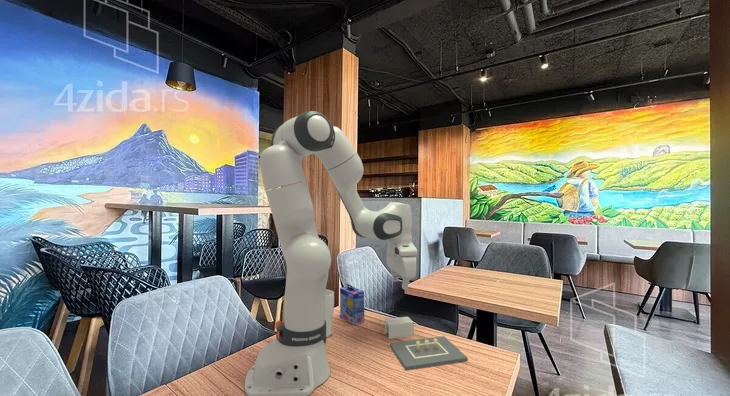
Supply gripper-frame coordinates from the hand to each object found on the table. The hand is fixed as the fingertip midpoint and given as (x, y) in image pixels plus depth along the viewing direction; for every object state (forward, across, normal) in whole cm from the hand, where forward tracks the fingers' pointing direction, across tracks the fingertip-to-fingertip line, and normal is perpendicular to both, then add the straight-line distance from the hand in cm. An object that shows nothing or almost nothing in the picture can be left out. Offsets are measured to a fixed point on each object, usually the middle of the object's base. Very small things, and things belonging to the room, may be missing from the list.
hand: (399, 284), depth 105 cm
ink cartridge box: (+18, -16, -14) cm, 28 cm away
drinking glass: (+18, -6, -26) cm, 32 cm away
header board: (+18, +14, +4) cm, 23 cm away
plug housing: (+18, 0, 0) cm, 18 cm away
